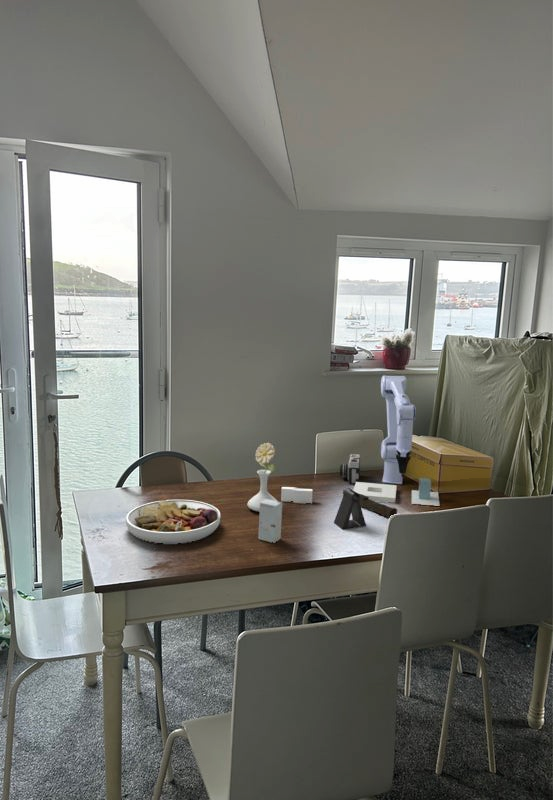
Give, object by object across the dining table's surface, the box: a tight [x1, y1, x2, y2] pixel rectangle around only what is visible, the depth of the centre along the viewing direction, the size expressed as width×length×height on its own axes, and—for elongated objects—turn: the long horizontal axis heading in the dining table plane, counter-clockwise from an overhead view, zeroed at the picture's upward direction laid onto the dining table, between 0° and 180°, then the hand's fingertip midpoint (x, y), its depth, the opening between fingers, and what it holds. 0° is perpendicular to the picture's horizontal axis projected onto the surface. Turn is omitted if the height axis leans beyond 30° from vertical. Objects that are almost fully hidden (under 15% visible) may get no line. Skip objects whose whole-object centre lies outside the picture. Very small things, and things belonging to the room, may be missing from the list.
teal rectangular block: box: [418, 477, 432, 500], centre depth 230 cm, size 4×4×7 cm
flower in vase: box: [246, 442, 278, 512], centre depth 214 cm, size 13×11×25 cm
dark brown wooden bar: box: [359, 494, 398, 518], centre depth 217 cm, size 19×4×5 cm, turn 36°
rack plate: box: [352, 481, 398, 503], centre depth 235 cm, size 16×16×2 cm
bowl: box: [125, 499, 221, 545], centre depth 196 cm, size 30×30×8 cm
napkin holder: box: [280, 486, 314, 505], centre depth 226 cm, size 15×11×6 cm
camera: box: [339, 453, 361, 485], centre depth 253 cm, size 14×9×10 cm, turn 163°
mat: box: [411, 489, 440, 506], centre depth 231 cm, size 16×10×1 cm, turn 167°
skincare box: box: [257, 499, 283, 544], centre depth 189 cm, size 6×4×12 cm
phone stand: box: [333, 487, 367, 530], centre depth 203 cm, size 9×6×12 cm, turn 112°
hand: (402, 470), depth 235 cm, fingers open, 7 cm apart
